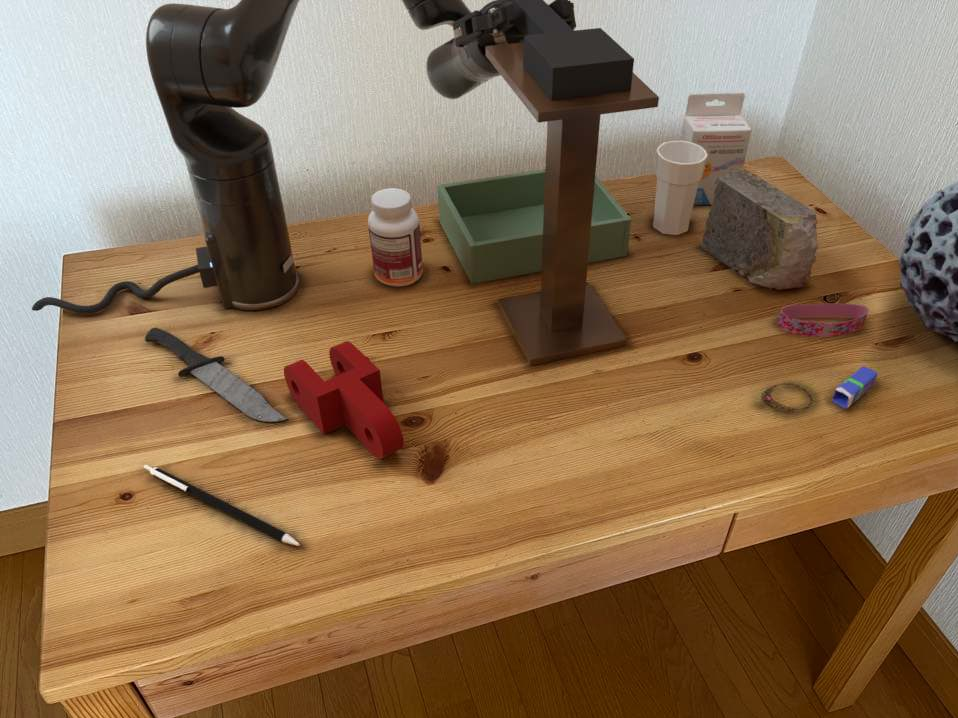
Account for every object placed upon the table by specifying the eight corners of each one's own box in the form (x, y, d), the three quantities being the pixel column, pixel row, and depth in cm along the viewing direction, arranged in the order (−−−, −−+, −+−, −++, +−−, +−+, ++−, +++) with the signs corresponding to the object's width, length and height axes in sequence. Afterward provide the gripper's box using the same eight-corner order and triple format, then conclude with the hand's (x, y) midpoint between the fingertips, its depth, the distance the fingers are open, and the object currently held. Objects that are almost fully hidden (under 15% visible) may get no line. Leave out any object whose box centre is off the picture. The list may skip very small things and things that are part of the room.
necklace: (751, 392, 95) (753, 385, 94) (799, 381, 97) (801, 374, 96) (770, 418, 92) (773, 412, 92) (819, 406, 94) (822, 400, 93)
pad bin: (471, 284, 108) (470, 246, 105) (439, 221, 119) (437, 184, 115) (627, 256, 114) (631, 219, 110) (583, 198, 125) (585, 163, 121)
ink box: (680, 207, 124) (696, 109, 114) (671, 189, 127) (686, 93, 117) (736, 204, 125) (757, 107, 115) (726, 187, 128) (746, 91, 118)
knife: (260, 440, 88) (299, 415, 91) (258, 433, 87) (297, 408, 90) (133, 344, 97) (172, 323, 100) (131, 336, 97) (170, 316, 100)
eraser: (835, 388, 93) (851, 396, 92) (862, 364, 97) (878, 372, 96) (830, 401, 95) (847, 410, 94) (857, 377, 98) (873, 385, 97)
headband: (876, 322, 102) (871, 336, 103) (865, 301, 105) (860, 316, 106) (786, 324, 101) (782, 339, 103) (778, 304, 104) (774, 318, 106)
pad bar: (551, 100, 79) (552, 67, 77) (481, 16, 94) (480, -13, 91) (631, 90, 81) (634, 58, 79) (549, 10, 96) (550, -19, 94)
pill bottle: (397, 255, 113) (389, 179, 105) (433, 271, 110) (428, 195, 103) (364, 276, 109) (354, 199, 101) (400, 294, 106) (393, 216, 99)
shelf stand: (530, 366, 97) (538, 112, 77) (487, 287, 108) (485, 45, 88) (626, 345, 101) (659, 96, 80) (576, 270, 111) (593, 34, 91)
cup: (682, 243, 117) (694, 169, 109) (638, 228, 119) (648, 155, 112) (701, 221, 121) (715, 149, 114) (659, 208, 124) (670, 136, 116)
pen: (150, 462, 84) (142, 461, 83) (304, 541, 78) (298, 540, 77) (145, 471, 84) (137, 469, 83) (300, 550, 78) (293, 549, 77)
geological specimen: (710, 174, 109) (796, 229, 100) (745, 163, 112) (831, 216, 103) (695, 245, 117) (774, 303, 108) (728, 233, 119) (808, 289, 110)
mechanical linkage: (288, 394, 93) (280, 357, 89) (347, 369, 96) (341, 333, 93) (363, 478, 83) (357, 441, 80) (425, 447, 87) (422, 410, 84)
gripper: (432, 13, 101) (465, -25, 85) (546, 2, 104) (599, -36, 89) (442, 80, 102) (477, 55, 87) (555, 67, 106) (607, 41, 91)
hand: (538, 9), depth 88 cm, fingers open, 5 cm apart
